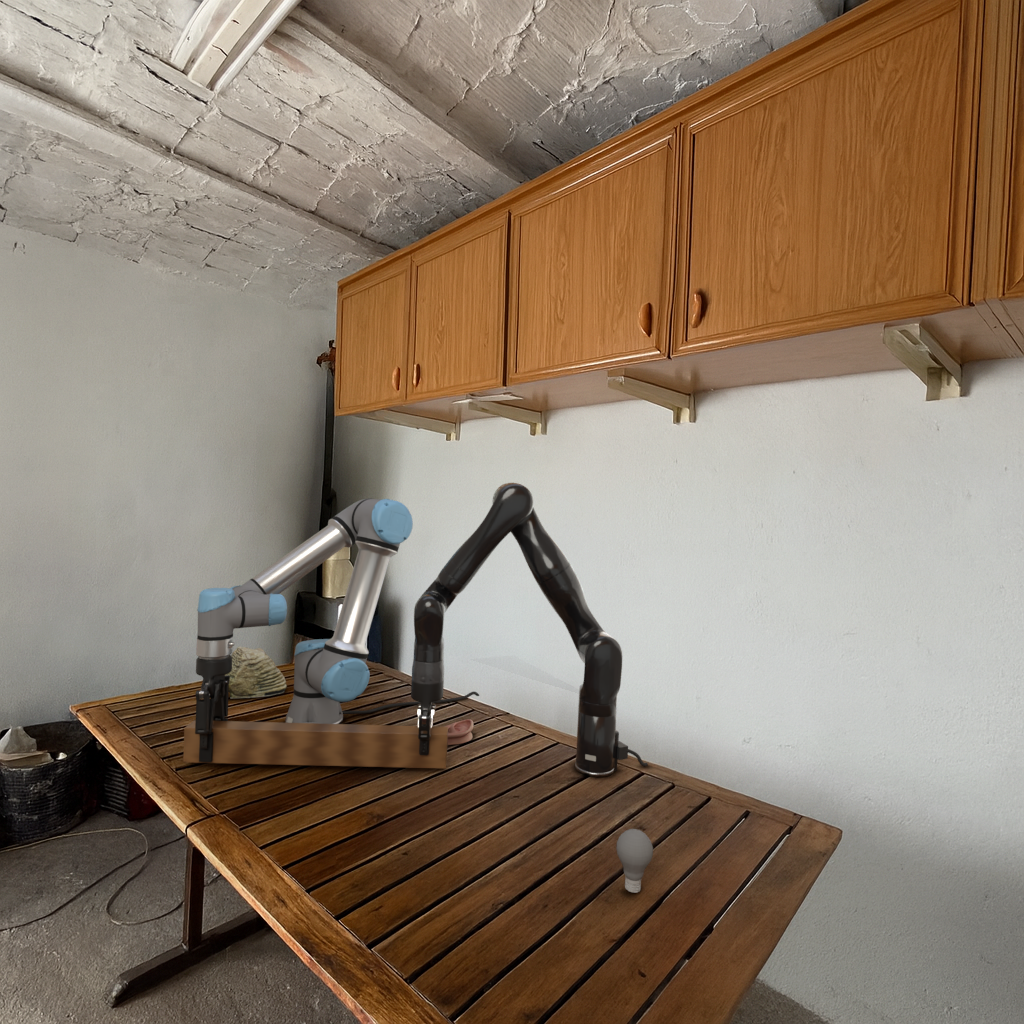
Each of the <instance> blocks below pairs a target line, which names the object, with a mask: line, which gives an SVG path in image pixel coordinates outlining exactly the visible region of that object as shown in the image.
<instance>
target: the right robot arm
mask: <svg viewBox="0 0 1024 1024" xmlns="http://www.w3.org/2000/svg"><path fill="white" fill-rule="evenodd" d="M510 533H511V534H512V536H513V537H514V539H515V541H516V542H517V544H518V546H519V548H520V550H521V553H522V556H523V557H524V560H525V563H526V564H527V566H528V569H529V570H530V572H531V574H532V577H533V579H534V580H535V582H536V584H537V585H538V587H539V589H540V591H541V592H542V594H543V595H544V597H545V599H546V600H547V601H548V603H549V605H550V606H551V607H552V609H553V611H554V612H555V613H556V614H557V616H558V617H559V618H560V620H561V621H562V622H563V624H564V626H565V628H566V629H567V632H568V634H569V636H570V638H571V640H572V642H573V646H574V647H575V650H576V652H577V654H578V657H579V658H580V660H581V661H582V663H583V664H584V668H583V669H584V671H583V681H582V684H581V685H580V686H579V688H578V708H577V729H576V731H577V732H576V747H575V748H576V751H575V763H574V764H575V765H574V768H575V770H576V771H577V772H578V773H581V774H582V775H585V776H589V777H595V778H598V777H599V778H603V777H609V776H611V775H613V774H614V773H615V772H617V771H618V763H619V762H618V761H622V760H627V759H628V756H629V754H631V755H632V756H634V757H635V758H636V759H637V761H638V763H639V764H640V765H641V766H642V767H648V765H649V764H648V762H644V761H643V760H642V758H641V756H640V755H639V753H637V752H636V751H634V750H632V749H629V746H628V745H627V744H625V743H623V742H622V741H620V732H619V731H618V730H617V711H618V709H617V708H618V695H619V692H620V689H621V685H622V675H623V674H622V673H623V661H624V660H623V649H622V646H621V644H620V643H619V641H618V640H617V639H616V638H614V637H613V636H612V635H610V634H608V633H607V632H606V630H604V627H602V626H601V624H600V623H599V622H598V620H597V618H596V617H595V616H594V614H593V612H592V611H591V608H590V607H589V605H588V601H587V597H586V595H585V591H584V589H583V586H582V583H581V581H580V578H579V577H578V574H577V573H576V571H575V570H574V567H573V566H572V564H571V563H570V561H569V559H568V558H567V556H566V554H565V553H564V552H563V551H562V549H561V548H560V546H559V545H558V543H556V542H555V540H554V539H553V538H552V537H551V535H550V534H549V532H548V531H547V530H546V529H545V527H544V525H543V524H542V522H541V520H540V518H539V516H538V514H537V512H536V510H535V508H534V497H533V494H532V492H531V491H530V489H529V488H527V487H526V486H525V485H523V484H520V483H519V482H506V483H503V484H501V485H500V486H499V487H497V488H496V490H495V491H494V493H493V496H492V505H491V506H490V509H489V510H488V512H487V514H486V516H485V517H484V519H483V520H482V522H481V523H480V524H479V526H478V527H477V528H476V529H475V530H474V532H473V533H472V534H471V535H470V536H468V538H467V539H466V540H465V541H464V542H463V543H462V545H460V547H459V548H458V549H457V550H456V551H455V552H454V553H453V554H452V555H451V557H450V558H449V560H448V561H447V562H446V563H445V564H444V566H443V567H442V569H441V570H440V572H439V573H438V575H437V577H436V578H435V579H434V580H433V582H432V583H431V584H430V585H429V586H428V588H426V589H425V591H424V592H423V593H422V594H421V595H420V596H419V598H418V599H417V601H416V603H415V604H414V608H413V630H414V642H413V659H412V666H411V683H410V684H411V687H410V688H411V690H410V697H411V699H412V700H413V701H414V702H415V701H419V702H421V704H418V707H417V710H416V711H417V713H416V714H417V726H418V728H419V735H418V739H420V743H419V754H420V755H428V754H429V739H430V737H431V735H430V729H431V728H432V727H434V722H435V714H436V713H435V712H436V703H434V701H435V702H436V701H439V700H442V699H444V698H443V697H444V686H445V685H444V684H445V682H444V681H445V664H444V660H445V659H444V658H445V657H444V656H445V640H444V623H445V613H446V612H447V611H448V609H449V608H450V607H451V605H452V604H453V602H454V601H455V599H456V598H457V597H458V596H459V594H461V593H463V591H464V590H465V589H466V588H467V586H468V585H469V584H470V583H471V581H472V580H473V579H474V577H475V576H476V575H477V574H478V572H479V571H480V569H482V568H483V565H484V564H485V563H486V561H487V560H488V558H489V557H490V556H491V555H492V553H493V552H494V551H495V549H496V548H497V547H498V546H499V545H500V543H501V542H502V541H503V540H504V539H505V538H506V537H508V535H509V534H510ZM422 731H427V734H422Z"/></svg>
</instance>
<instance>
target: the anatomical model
mask: <svg viewBox="0 0 1024 1024" xmlns="http://www.w3.org/2000/svg"><path fill="white" fill-rule="evenodd" d="M443 727H448V744H447V746H451V745H453V746H454V745H459V744H464V743H467V742H470V741H471V740H473V733H472V731H473V729H474V721H473V720H472V719H470V718H467V719H461V720H459V721H456V722H452V723H450V724H448V725H444V726H443Z"/></svg>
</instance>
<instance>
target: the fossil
mask: <svg viewBox="0 0 1024 1024" xmlns="http://www.w3.org/2000/svg"><path fill="white" fill-rule="evenodd" d="M230 655H231V656H232V670H231V672H230V673H228V674H226V675H229V676H230V680H229V698H230V699H250V698H264V697H271V696H275V695H281V694H284V693H285V691H286V689H287V687H288V686H287V680H286V678H285V676H284V674H283V673H282V672H281V669H279V668H278V667H277V665H276V663H275V662H274V660H273V659H272V658H271V657H270V656H269V655H268V654H267V653H266V652H265V650H264V649H263V648H260V647H258V648H251V647H247V646H246V647H245V646H238V647H237V648H236V649H235V650H233V651H232V653H231V654H230Z"/></svg>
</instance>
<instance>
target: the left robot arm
mask: <svg viewBox="0 0 1024 1024" xmlns="http://www.w3.org/2000/svg"><path fill="white" fill-rule="evenodd" d="M413 525H414V524H413V517H412V514H411V512H410V510H409V508H408V507H407V506H406V505H405V504H404V503H403V502H400V501H398V500H393V499H390V498H372V497H371V498H363V499H360V500H357V501H355V502H354V503H352V504H350V505H349V506H347V507H345V509H343V510H341V511H340V512H338V513H337V514H336V515H334V516H332V517H331V518H330V519H328V522H327V525H326V526H325V527H323V528H321V530H319V531H318V532H316V533H315V534H313V535H312V536H310V537H309V538H307V539H306V540H305V541H303V542H302V543H301V544H299V545H297V546H296V547H294V548H293V549H292V550H290V551H289V552H288V553H286V554H285V555H283V556H282V557H280V558H279V559H277V560H276V561H274V562H273V563H272V564H271V565H269V566H267V567H266V568H265V569H263V570H261V571H260V572H259V573H258V574H256V575H255V576H253V577H252V578H250V579H248V580H247V581H246V582H244V583H242V584H241V585H234V586H231V587H210V588H205V589H202V590H201V591H200V592H199V595H198V603H197V610H196V611H197V635H196V651H195V653H196V655H195V656H197V658H196V659H195V674H196V675H197V676H200V677H202V683H201V686H200V690H198V689H197V690H196V691H195V701H196V703H195V720H196V722H195V734H200V744H199V762H212V761H213V732H212V725H213V721H229V718H227V717H228V716H229V694H230V692H229V680H230V676H229V675H226V674H228V673H230V672H231V670H232V656H231V655H232V653H233V647H234V646H235V642H234V641H233V640H234V630H235V629H246V628H257V627H271V626H275V625H277V626H278V625H281V624H283V623H284V622H285V620H286V618H287V615H288V603H287V600H286V598H285V596H284V595H283V594H281V593H283V592H284V591H286V590H287V589H289V588H290V587H291V586H293V585H294V584H296V582H298V581H300V580H301V579H302V578H304V577H305V576H306V575H308V574H309V573H310V572H312V571H313V570H315V569H316V568H318V567H319V566H321V564H323V563H324V562H325V561H327V560H328V559H330V558H331V557H332V556H334V555H335V554H337V553H338V552H340V551H341V550H342V549H344V548H347V549H348V548H351V547H353V546H354V545H355V544H356V547H357V549H358V552H357V554H356V558H355V561H354V565H353V567H352V572H351V575H350V579H349V582H348V586H347V589H346V592H345V594H344V595H345V596H344V598H343V603H342V605H341V609H340V612H339V615H338V619H337V622H336V626H335V628H334V632H333V636H332V637H331V638H323V639H322V638H319V639H308V640H303V641H299V642H297V644H296V645H295V650H294V655H293V656H294V672H293V695H292V696H293V697H292V699H291V702H290V704H289V708H288V711H287V713H286V715H285V723H316V724H343V722H344V715H366V714H372V713H375V712H378V711H381V710H384V709H389V708H390V709H391V708H396V707H404V706H416V705H419V704H421V702H419V701H415V700H414V701H406V702H396V703H395V702H394V703H390V704H385V705H382V706H378V707H375V708H371V709H367V710H366V709H365V710H343V709H342V706H341V703H348V702H351V701H354V700H355V699H357V698H358V697H360V696H361V695H362V694H363V693H364V692H365V690H366V689H367V687H368V685H369V682H370V677H371V676H370V675H371V673H370V670H369V666H368V665H367V660H368V657H369V653H370V652H369V649H368V648H367V646H366V643H367V639H368V636H369V633H370V629H371V626H372V623H373V618H374V615H375V611H376V608H377V605H378V601H379V598H380V594H381V591H382V589H383V588H382V587H383V583H384V581H385V577H386V573H387V570H388V566H389V564H390V559H391V558H392V557H394V556H395V555H397V554H398V552H399V549H400V545H401V544H402V543H404V542H405V541H406V540H408V538H409V537H410V536H411V533H412V530H413ZM474 695H475V696H476V697H479V696H480V694H479V693H478V692H477V691H471V692H469V693H467V694H466V695H463V696H458V697H452V698H442V699H441V700H439V701H436V702H435V701H434V704H441V703H450V702H457V701H463V700H466V699H468V698H469V697H471V696H474Z"/></svg>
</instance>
